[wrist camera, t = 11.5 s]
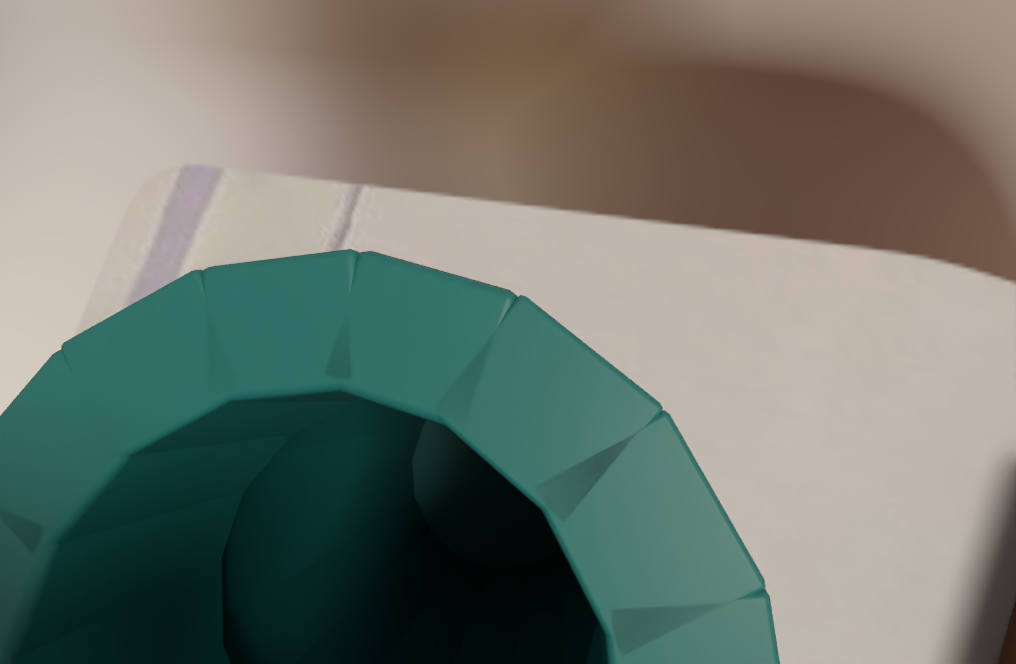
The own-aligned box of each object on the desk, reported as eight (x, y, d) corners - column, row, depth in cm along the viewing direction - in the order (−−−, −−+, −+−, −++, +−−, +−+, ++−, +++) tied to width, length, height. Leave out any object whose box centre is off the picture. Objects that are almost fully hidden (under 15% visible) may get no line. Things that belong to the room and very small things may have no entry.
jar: (656, 456, 16) (1026, 692, 3) (519, 625, 16) (317, 1611, 3) (492, 322, 17) (270, 91, 4) (363, 479, 17) (-280, 736, 4)
